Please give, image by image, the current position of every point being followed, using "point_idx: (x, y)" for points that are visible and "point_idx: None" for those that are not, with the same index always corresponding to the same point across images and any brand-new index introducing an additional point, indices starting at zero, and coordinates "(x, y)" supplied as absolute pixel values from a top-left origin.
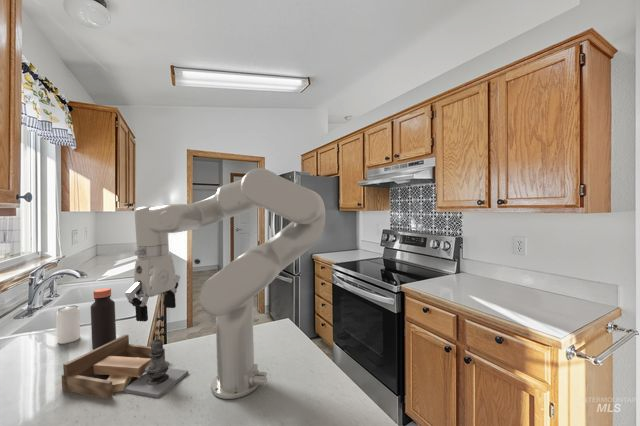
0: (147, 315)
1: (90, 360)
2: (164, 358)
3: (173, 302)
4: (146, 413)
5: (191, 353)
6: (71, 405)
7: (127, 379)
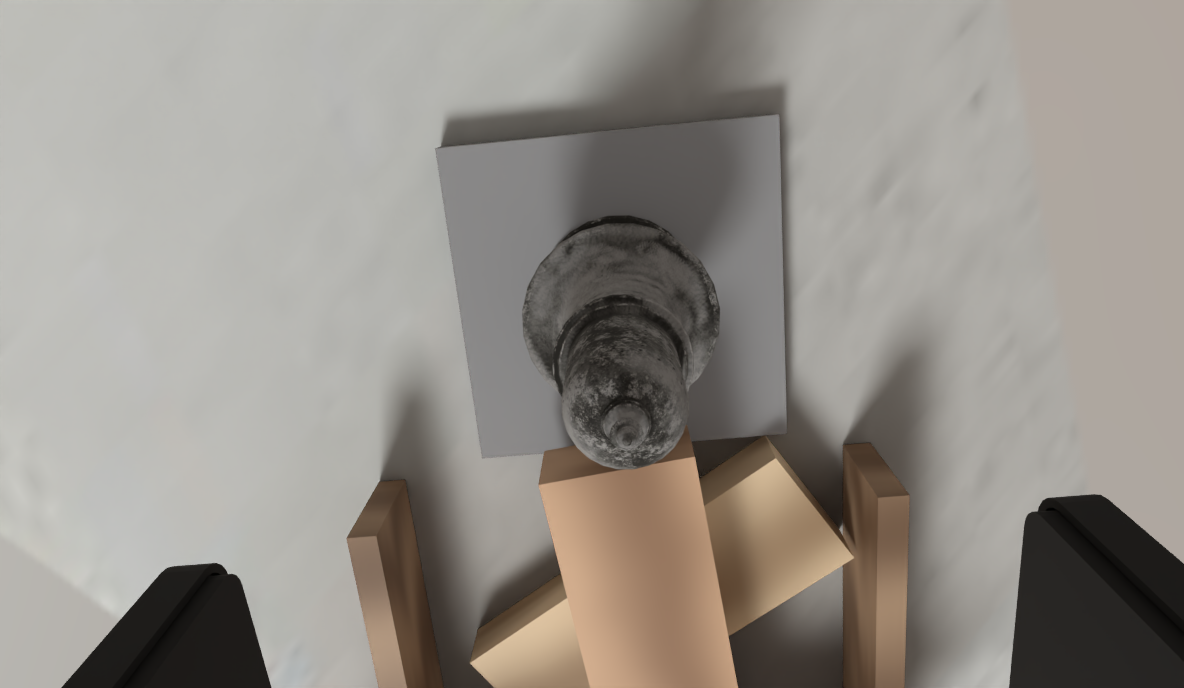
0: (1113, 561)
1: None
2: (376, 492)
3: (154, 662)
4: (937, 42)
5: (194, 371)
6: (971, 593)
7: (714, 491)
